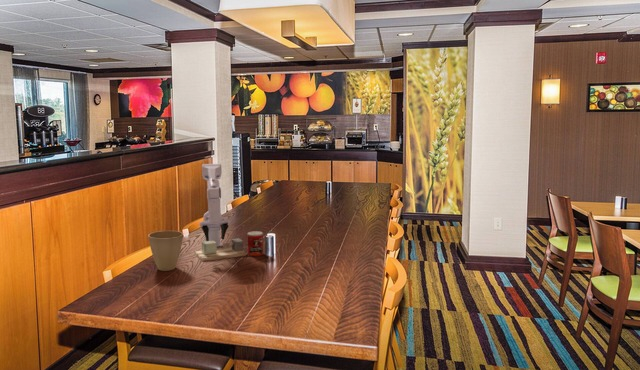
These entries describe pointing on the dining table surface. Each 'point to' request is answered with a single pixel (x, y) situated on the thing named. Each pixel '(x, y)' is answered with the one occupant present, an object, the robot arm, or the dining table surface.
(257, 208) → the dining table surface
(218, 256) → the stud board
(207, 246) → the pale green cube
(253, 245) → the canned food
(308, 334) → the dining table surface
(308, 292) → the dining table surface
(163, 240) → the plant pot
